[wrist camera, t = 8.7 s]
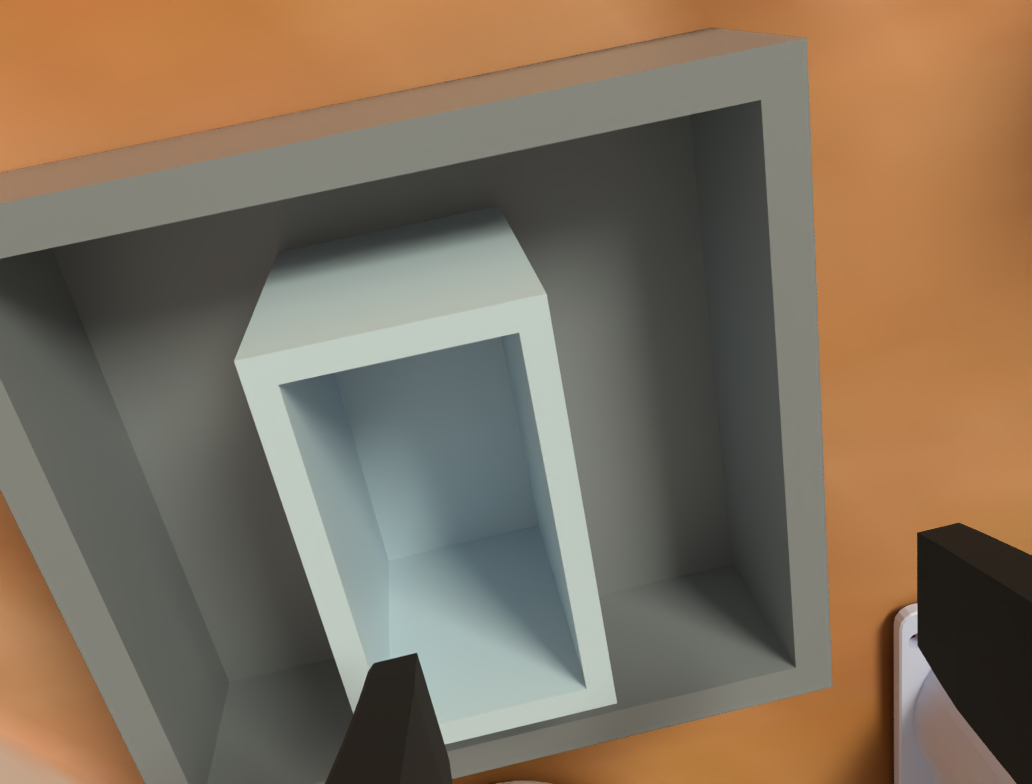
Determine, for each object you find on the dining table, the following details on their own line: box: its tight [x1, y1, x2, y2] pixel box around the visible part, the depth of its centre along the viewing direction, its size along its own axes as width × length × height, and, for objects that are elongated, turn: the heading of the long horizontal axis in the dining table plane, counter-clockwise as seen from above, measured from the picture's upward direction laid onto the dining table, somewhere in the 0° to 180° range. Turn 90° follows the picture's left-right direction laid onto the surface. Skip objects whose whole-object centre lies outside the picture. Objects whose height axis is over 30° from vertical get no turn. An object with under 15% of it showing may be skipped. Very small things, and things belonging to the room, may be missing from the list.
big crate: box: [0, 28, 832, 784], centre depth 19 cm, size 14×15×4 cm
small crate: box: [234, 206, 617, 744], centre depth 17 cm, size 8×5×6 cm, turn 10°
